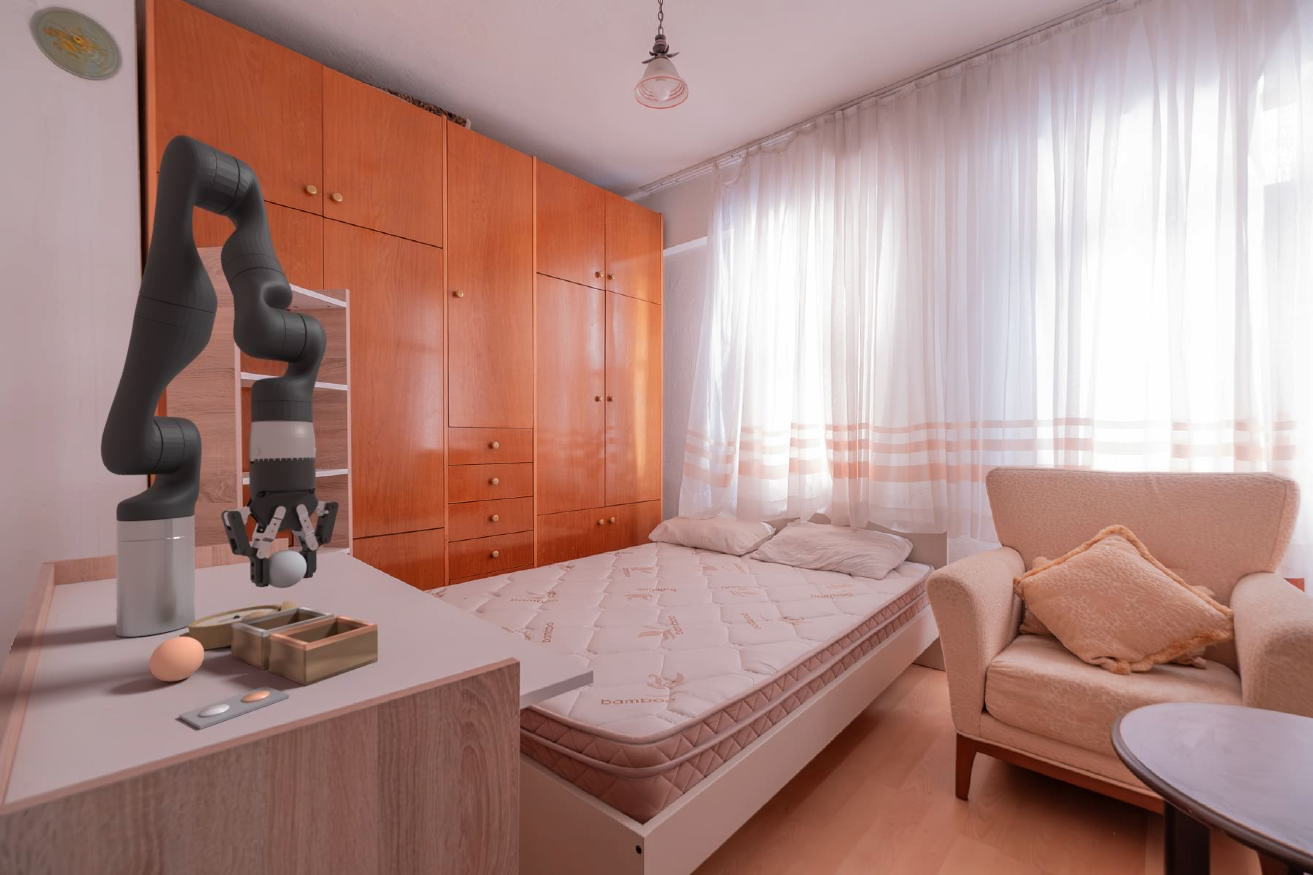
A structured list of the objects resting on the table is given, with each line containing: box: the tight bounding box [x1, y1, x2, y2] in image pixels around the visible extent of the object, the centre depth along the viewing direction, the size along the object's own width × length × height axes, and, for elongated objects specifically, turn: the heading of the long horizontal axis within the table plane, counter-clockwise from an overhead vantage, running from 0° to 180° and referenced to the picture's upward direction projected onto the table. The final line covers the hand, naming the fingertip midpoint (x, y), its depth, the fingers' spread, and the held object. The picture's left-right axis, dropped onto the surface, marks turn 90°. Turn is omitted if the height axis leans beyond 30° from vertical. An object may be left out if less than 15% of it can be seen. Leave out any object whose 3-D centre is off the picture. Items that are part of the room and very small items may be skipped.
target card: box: [178, 685, 290, 730], centre depth 60 cm, size 5×8×1 cm, turn 149°
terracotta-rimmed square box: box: [268, 615, 379, 687], centre depth 71 cm, size 9×9×5 cm
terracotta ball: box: [148, 636, 205, 683], centre depth 67 cm, size 5×5×5 cm
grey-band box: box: [230, 606, 335, 670], centre depth 76 cm, size 9×9×5 cm
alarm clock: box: [178, 600, 298, 650], centre depth 83 cm, size 11×5×15 cm
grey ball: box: [268, 549, 307, 589], centre depth 76 cm, size 5×5×5 cm
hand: (284, 581), depth 76 cm, fingers closed on grey ball, 5 cm apart
